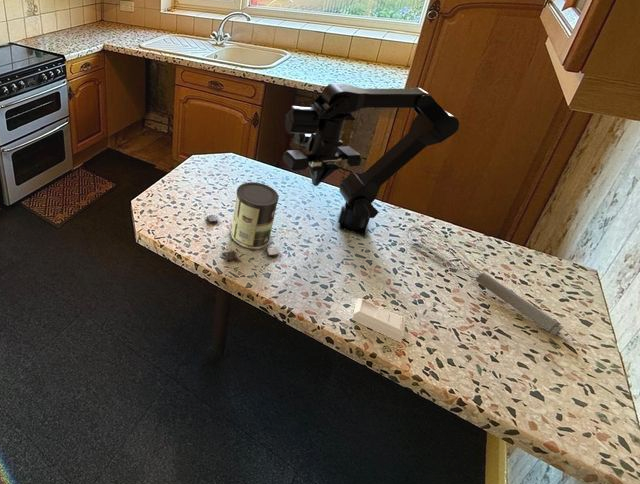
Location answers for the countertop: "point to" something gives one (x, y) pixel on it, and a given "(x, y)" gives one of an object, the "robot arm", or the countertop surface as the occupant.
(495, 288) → the kitchen whisk
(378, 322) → the soap bar
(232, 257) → the tabs
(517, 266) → the countertop surface
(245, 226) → the coffee can
